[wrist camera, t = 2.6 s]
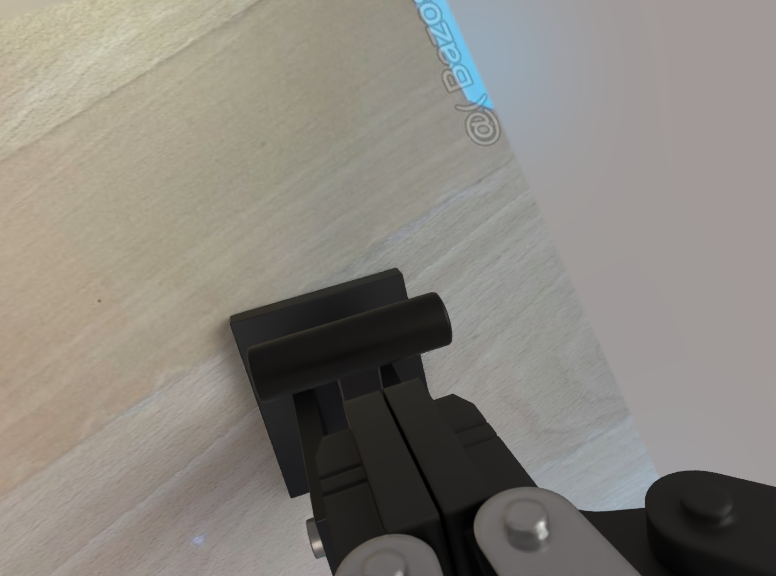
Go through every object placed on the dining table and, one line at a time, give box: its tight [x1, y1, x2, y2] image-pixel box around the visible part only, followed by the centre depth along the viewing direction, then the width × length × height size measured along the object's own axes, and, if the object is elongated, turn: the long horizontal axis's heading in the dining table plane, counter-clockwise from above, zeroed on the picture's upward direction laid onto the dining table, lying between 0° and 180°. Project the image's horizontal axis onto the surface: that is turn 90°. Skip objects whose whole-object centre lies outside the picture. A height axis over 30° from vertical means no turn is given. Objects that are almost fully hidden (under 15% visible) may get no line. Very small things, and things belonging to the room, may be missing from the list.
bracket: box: [230, 268, 429, 576], centre depth 26 cm, size 11×9×13 cm
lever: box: [247, 292, 452, 403], centre depth 18 cm, size 12×5×2 cm, turn 13°
